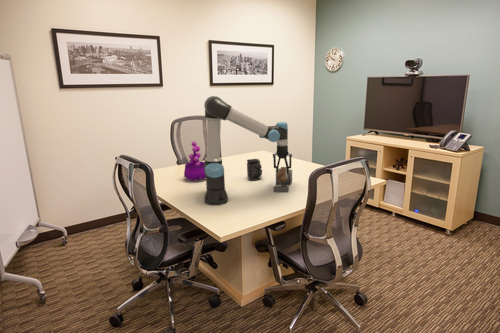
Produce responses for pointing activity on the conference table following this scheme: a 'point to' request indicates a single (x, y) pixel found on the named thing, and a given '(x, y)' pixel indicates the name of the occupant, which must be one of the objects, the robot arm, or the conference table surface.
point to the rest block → (281, 188)
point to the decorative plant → (194, 165)
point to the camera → (254, 169)
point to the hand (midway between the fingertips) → (282, 177)
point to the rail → (282, 174)
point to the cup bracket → (287, 180)
